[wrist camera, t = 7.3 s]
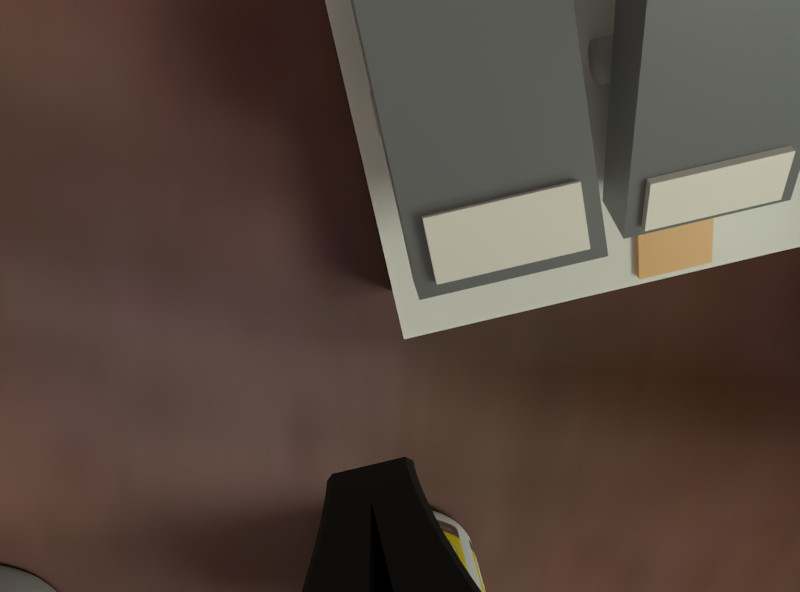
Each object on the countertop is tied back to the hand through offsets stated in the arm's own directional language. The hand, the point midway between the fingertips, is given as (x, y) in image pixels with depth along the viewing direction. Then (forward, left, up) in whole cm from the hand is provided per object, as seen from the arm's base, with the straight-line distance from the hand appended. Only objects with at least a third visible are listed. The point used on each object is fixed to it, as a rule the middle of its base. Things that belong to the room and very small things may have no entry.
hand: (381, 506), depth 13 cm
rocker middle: (-9, -4, -7) cm, 12 cm away
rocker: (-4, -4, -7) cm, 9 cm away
